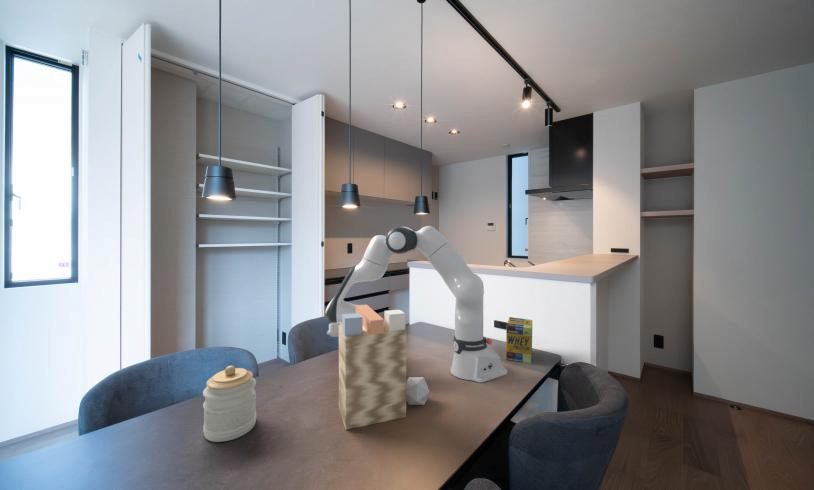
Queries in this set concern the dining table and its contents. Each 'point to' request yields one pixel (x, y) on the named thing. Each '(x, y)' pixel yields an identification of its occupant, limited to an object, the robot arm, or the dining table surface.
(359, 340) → the oak stand
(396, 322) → the cube cream
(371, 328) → the bar terracotta
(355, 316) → the cube slate
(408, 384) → the die
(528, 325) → the protein box
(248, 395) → the jar
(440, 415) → the dining table surface
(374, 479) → the dining table surface
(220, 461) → the dining table surface
